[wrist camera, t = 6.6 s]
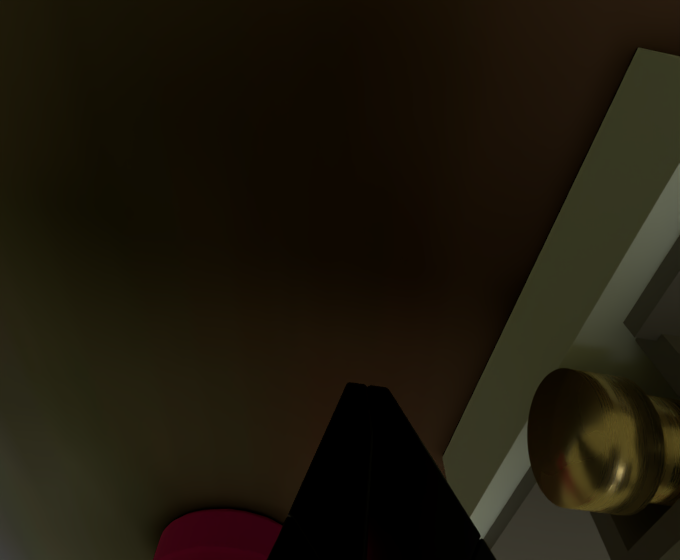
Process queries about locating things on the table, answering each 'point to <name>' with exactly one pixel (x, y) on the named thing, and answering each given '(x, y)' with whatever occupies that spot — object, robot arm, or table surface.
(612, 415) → the hinge pin
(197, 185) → the table surface
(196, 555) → the pepper mill
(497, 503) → the hinge board
